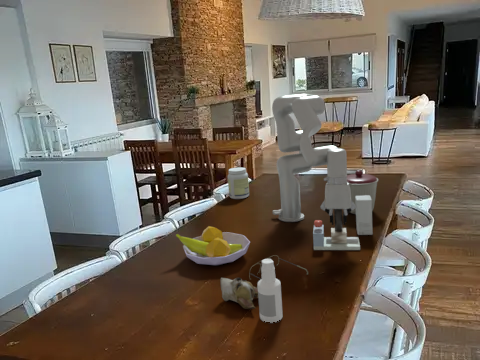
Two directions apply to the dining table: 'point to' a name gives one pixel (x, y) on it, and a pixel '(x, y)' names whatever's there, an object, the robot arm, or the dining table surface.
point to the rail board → (326, 244)
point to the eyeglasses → (277, 264)
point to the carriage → (338, 229)
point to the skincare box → (364, 215)
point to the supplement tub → (238, 183)
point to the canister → (362, 186)
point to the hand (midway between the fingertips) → (338, 223)
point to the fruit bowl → (215, 247)
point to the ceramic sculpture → (239, 292)
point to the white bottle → (269, 293)
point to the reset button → (318, 223)
